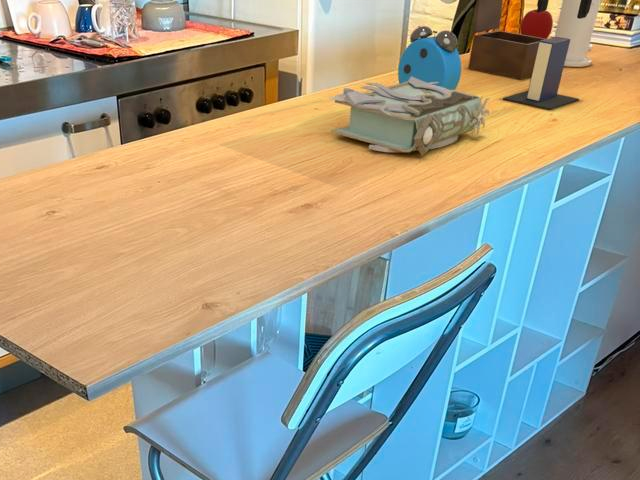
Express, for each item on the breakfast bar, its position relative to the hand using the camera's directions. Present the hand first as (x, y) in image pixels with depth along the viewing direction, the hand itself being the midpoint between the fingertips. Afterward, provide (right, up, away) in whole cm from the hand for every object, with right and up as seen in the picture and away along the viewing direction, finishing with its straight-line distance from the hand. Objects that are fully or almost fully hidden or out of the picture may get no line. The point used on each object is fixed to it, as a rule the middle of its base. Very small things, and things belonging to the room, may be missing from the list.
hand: (561, 14), depth 179 cm
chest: (-2, +6, +34) cm, 35 cm away
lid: (-7, +22, +28) cm, 36 cm away
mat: (-1, -14, +11) cm, 17 cm away
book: (-1, -13, +10) cm, 17 cm away
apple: (+17, +32, +67) cm, 76 cm away
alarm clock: (-30, -18, +4) cm, 35 cm away
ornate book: (-37, -35, -16) cm, 53 cm away
